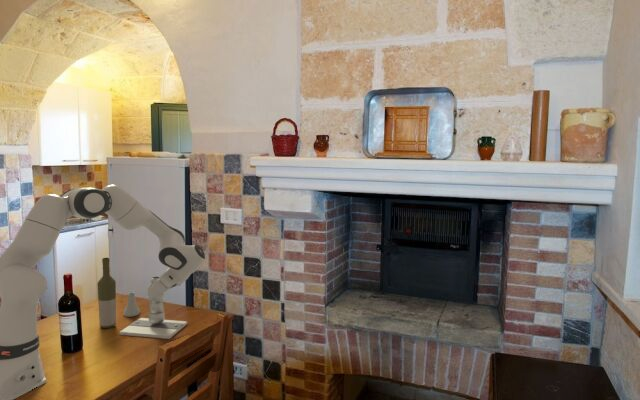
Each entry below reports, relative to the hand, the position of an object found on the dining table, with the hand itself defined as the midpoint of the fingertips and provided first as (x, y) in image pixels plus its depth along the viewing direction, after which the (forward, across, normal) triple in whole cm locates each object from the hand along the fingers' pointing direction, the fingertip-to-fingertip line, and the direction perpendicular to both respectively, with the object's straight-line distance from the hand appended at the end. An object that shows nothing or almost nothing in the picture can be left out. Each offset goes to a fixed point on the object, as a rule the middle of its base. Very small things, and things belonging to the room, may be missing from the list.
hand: (154, 296), depth 191 cm
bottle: (+24, +3, -4) cm, 25 cm away
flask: (+23, -12, -3) cm, 26 cm away
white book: (+9, +2, +10) cm, 14 cm away
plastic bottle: (+8, 0, +9) cm, 12 cm away
